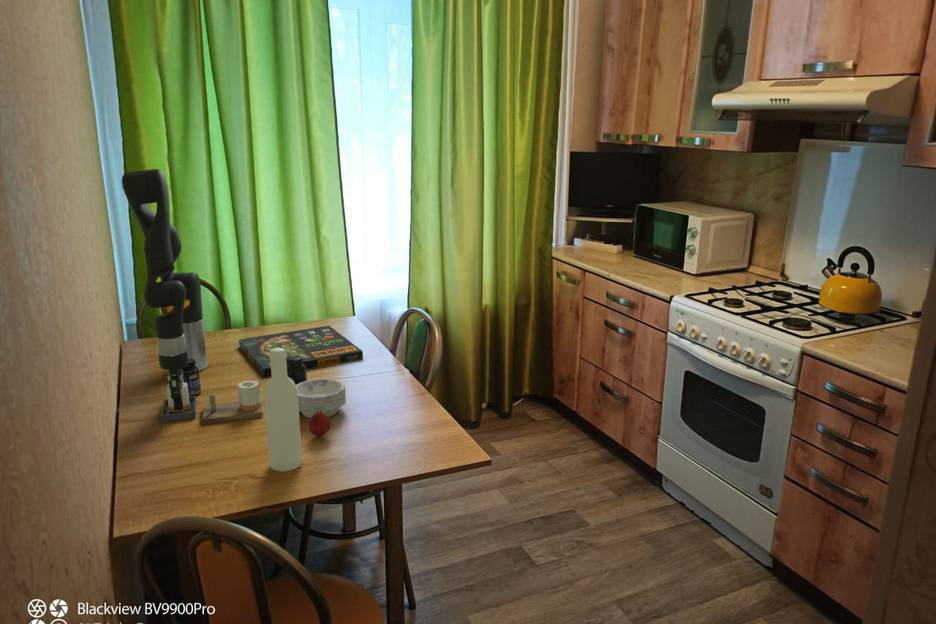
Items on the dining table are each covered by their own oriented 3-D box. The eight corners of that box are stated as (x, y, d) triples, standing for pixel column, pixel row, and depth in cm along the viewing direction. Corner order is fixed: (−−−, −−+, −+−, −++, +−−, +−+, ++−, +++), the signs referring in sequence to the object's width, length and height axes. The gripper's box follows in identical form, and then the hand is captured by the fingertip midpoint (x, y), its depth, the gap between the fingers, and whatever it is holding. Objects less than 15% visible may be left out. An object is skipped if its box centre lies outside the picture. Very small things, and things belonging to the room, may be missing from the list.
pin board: (203, 410, 193) (201, 389, 191) (260, 403, 199) (258, 383, 197) (202, 424, 184) (200, 403, 182) (262, 416, 190) (260, 395, 188)
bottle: (305, 456, 168) (298, 344, 159) (299, 472, 160) (290, 355, 152) (273, 456, 167) (264, 344, 159) (265, 472, 160) (255, 355, 151)
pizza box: (329, 334, 265) (329, 325, 264) (362, 360, 236) (362, 351, 235) (239, 348, 248) (238, 339, 247) (264, 378, 219) (263, 368, 218)
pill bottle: (193, 399, 201) (189, 365, 198) (175, 397, 202) (171, 363, 199) (205, 391, 207) (201, 358, 204) (187, 389, 208) (184, 356, 205)
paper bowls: (327, 397, 203) (326, 373, 201) (356, 412, 193) (355, 387, 191) (283, 411, 193) (281, 386, 191) (311, 428, 183) (309, 402, 180)
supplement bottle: (312, 393, 206) (310, 357, 203) (293, 400, 201) (290, 363, 198) (299, 387, 210) (297, 352, 207) (281, 393, 206) (278, 357, 202)
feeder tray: (164, 406, 196) (163, 399, 195) (196, 402, 199) (196, 395, 198) (161, 422, 185) (160, 416, 185) (195, 418, 188) (194, 412, 188)
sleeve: (170, 405, 193) (167, 383, 191) (190, 403, 195) (187, 381, 193) (168, 413, 189) (165, 390, 187) (189, 410, 190) (186, 388, 188)
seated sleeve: (237, 406, 193) (235, 383, 191) (255, 401, 196) (253, 379, 194) (245, 412, 189) (243, 389, 187) (263, 406, 192) (261, 384, 191)
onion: (320, 444, 174) (318, 416, 172) (304, 438, 177) (303, 411, 175) (335, 435, 179) (334, 408, 177) (320, 430, 182) (318, 403, 179)
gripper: (160, 343, 192) (166, 397, 197) (155, 360, 179) (163, 417, 184) (187, 341, 195) (194, 394, 199) (185, 357, 182) (192, 413, 186)
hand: (179, 404), depth 192 cm, fingers closed on sleeve, 5 cm apart
